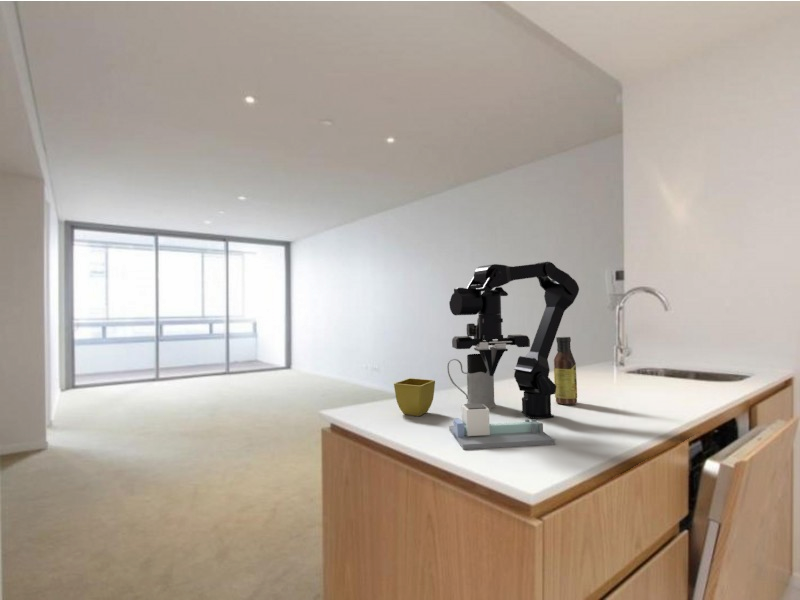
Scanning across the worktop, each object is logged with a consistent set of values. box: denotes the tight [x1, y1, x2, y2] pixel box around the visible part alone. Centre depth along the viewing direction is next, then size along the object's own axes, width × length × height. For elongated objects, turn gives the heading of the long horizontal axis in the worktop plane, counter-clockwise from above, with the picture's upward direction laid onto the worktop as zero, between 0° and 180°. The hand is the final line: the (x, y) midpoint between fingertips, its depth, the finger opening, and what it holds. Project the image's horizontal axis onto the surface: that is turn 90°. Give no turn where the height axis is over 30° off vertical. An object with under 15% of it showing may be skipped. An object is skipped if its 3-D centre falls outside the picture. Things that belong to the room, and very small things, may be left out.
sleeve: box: [461, 403, 490, 436], centre depth 97 cm, size 5×5×6 cm
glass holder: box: [447, 353, 497, 410], centre depth 129 cm, size 9×14×15 cm, turn 74°
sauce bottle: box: [553, 336, 578, 406], centre depth 129 cm, size 6×6×20 cm
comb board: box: [448, 418, 556, 450], centre depth 98 cm, size 20×14×4 cm
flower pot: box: [393, 377, 436, 417], centre depth 120 cm, size 9×9×9 cm
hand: (491, 375), depth 109 cm, fingers closed
